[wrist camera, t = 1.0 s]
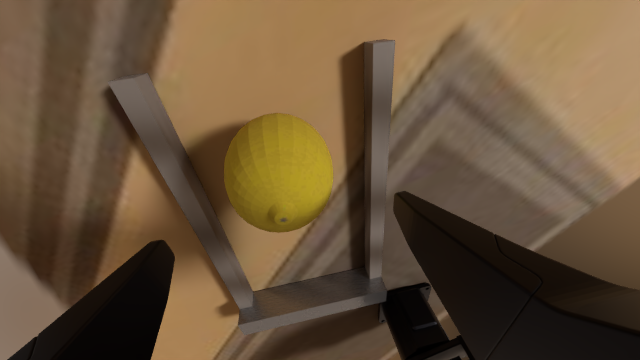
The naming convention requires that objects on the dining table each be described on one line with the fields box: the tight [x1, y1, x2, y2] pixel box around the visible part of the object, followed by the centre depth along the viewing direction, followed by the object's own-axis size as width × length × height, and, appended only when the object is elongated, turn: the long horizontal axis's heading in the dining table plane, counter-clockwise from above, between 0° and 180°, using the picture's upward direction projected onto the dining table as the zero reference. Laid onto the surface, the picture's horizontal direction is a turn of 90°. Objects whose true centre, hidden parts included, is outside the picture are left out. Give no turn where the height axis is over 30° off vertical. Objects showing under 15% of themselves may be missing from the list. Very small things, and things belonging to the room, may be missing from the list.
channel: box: [108, 39, 395, 335], centre depth 18 cm, size 23×14×3 cm, turn 6°
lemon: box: [224, 113, 333, 232], centre depth 13 cm, size 6×6×8 cm
